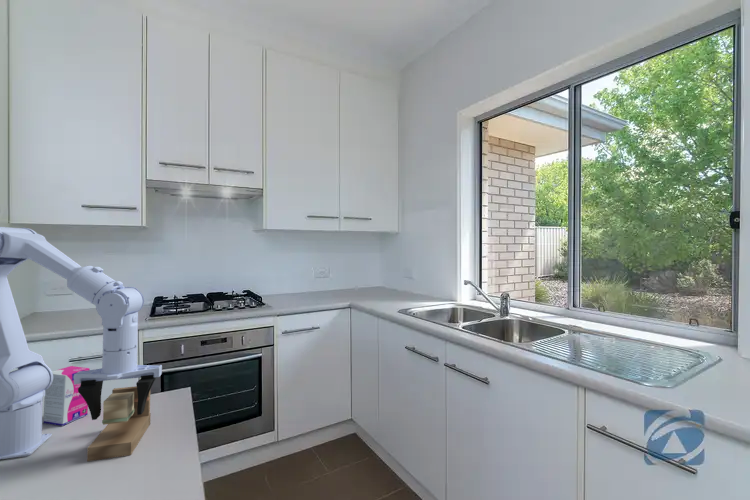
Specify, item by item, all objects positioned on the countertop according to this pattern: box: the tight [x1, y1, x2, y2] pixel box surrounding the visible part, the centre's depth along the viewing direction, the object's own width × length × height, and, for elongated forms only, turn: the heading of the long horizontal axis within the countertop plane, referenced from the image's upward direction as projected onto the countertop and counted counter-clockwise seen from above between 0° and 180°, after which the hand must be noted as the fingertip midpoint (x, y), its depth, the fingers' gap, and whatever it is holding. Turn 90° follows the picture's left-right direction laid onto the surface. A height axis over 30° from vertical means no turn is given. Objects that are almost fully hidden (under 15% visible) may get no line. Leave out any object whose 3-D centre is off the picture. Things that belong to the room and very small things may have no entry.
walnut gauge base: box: [86, 385, 152, 462], centre depth 73 cm, size 7×13×9 cm, turn 19°
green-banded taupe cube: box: [101, 392, 134, 426], centre depth 71 cm, size 4×4×4 cm
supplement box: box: [42, 365, 91, 427], centre depth 82 cm, size 6×6×12 cm
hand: (118, 415), depth 71 cm, fingers open, 7 cm apart
